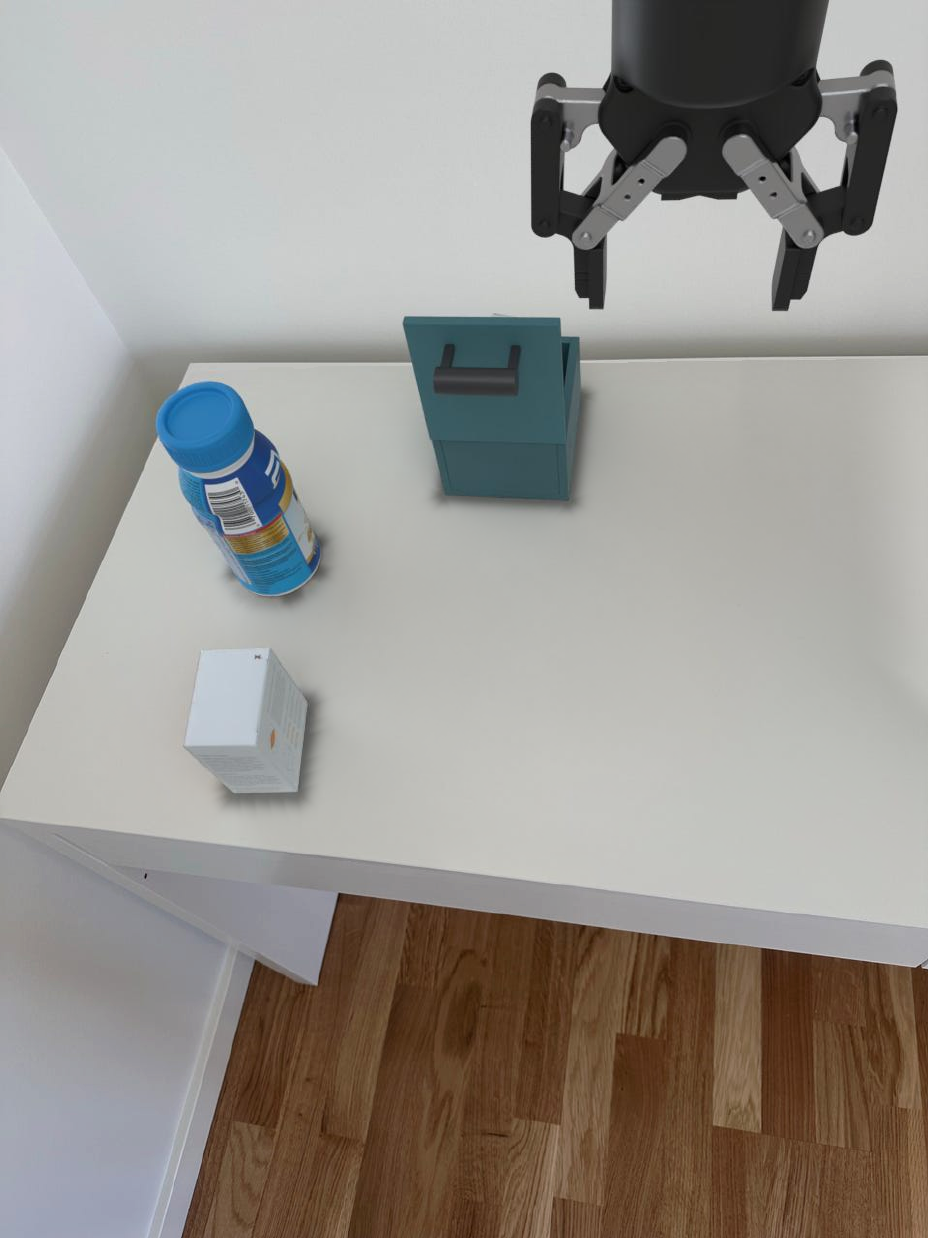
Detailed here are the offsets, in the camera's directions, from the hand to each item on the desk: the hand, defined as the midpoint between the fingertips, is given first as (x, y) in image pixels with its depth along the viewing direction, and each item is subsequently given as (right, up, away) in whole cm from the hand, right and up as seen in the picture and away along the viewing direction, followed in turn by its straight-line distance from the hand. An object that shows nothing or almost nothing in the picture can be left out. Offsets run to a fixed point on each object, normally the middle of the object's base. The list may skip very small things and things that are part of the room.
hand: (687, 298), depth 44 cm
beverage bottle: (-28, -10, +40) cm, 50 cm away
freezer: (-6, +1, +43) cm, 44 cm away
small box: (-27, -26, +31) cm, 49 cm away
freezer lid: (-9, +3, +28) cm, 30 cm away
